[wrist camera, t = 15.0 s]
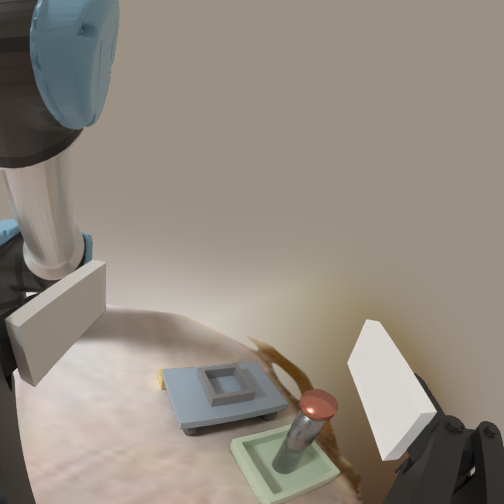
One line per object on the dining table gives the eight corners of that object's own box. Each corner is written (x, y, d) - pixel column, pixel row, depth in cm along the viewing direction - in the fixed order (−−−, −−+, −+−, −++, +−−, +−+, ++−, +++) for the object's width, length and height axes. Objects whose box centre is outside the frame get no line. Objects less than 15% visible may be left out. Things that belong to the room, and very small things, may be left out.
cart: (158, 378, 48) (159, 349, 46) (244, 370, 57) (252, 343, 55) (179, 441, 36) (181, 415, 34) (280, 421, 44) (292, 395, 42)
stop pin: (263, 458, 35) (293, 393, 31) (288, 450, 37) (323, 385, 33) (277, 480, 31) (315, 420, 27) (303, 470, 33) (345, 409, 29)
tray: (229, 448, 37) (232, 438, 36) (293, 431, 42) (299, 421, 41) (264, 509, 27) (270, 502, 26) (332, 480, 32) (340, 472, 31)
